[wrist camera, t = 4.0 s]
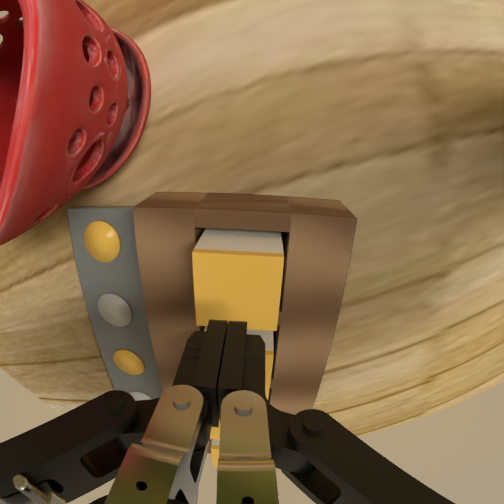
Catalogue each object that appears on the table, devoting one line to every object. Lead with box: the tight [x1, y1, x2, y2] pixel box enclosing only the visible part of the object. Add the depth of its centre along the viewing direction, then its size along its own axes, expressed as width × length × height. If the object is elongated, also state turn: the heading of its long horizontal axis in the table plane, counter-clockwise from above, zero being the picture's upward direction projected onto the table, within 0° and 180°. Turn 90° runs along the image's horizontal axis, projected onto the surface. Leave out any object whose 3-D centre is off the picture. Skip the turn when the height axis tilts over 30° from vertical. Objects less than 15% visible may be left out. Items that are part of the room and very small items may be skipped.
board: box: [133, 192, 357, 453], centre depth 22 cm, size 25×12×4 cm, turn 178°
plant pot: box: [0, 0, 151, 245], centre depth 11 cm, size 13×13×12 cm
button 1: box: [192, 228, 284, 331], centre depth 16 cm, size 4×4×4 cm
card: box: [67, 206, 163, 401], centre depth 23 cm, size 23×6×1 cm, turn 178°
